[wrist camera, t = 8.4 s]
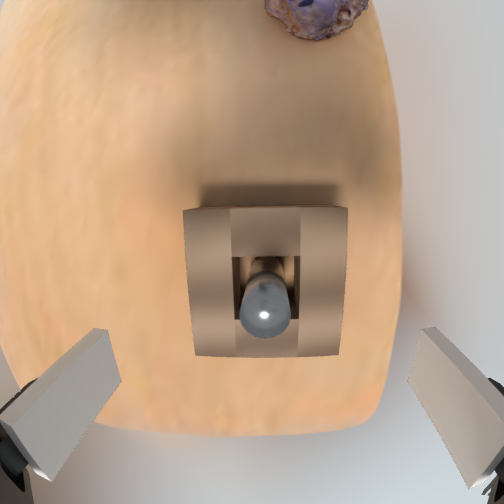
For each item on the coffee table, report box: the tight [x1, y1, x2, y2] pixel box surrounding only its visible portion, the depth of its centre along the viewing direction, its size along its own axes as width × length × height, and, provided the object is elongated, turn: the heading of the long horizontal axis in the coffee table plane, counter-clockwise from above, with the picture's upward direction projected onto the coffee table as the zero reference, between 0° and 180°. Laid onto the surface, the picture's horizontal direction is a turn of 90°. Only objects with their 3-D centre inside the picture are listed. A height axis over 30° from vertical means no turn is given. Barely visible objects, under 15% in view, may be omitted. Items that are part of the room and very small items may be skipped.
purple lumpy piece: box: [265, 0, 369, 40], centre depth 18 cm, size 12×8×6 cm, turn 115°
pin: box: [240, 256, 291, 339], centre depth 22 cm, size 3×3×10 cm
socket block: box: [183, 205, 348, 358], centre depth 24 cm, size 12×12×5 cm
